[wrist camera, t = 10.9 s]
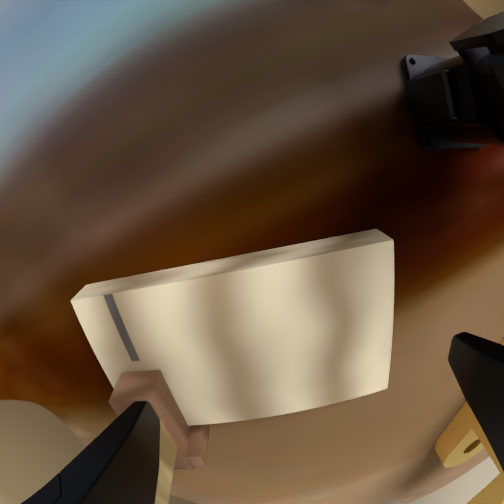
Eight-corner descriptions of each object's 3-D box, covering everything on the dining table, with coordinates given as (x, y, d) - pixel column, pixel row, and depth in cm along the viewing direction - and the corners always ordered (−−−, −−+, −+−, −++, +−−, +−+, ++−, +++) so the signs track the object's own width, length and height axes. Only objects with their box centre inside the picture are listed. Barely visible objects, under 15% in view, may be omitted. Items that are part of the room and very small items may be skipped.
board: (376, 228, 19) (393, 239, 16) (376, 369, 23) (387, 388, 20) (86, 284, 19) (69, 300, 17) (144, 406, 23) (137, 427, 21)
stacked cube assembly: (179, 350, 20) (149, 470, 11) (209, 421, 23) (202, 524, 13) (118, 356, 20) (69, 460, 11) (155, 424, 23) (134, 519, 13)
